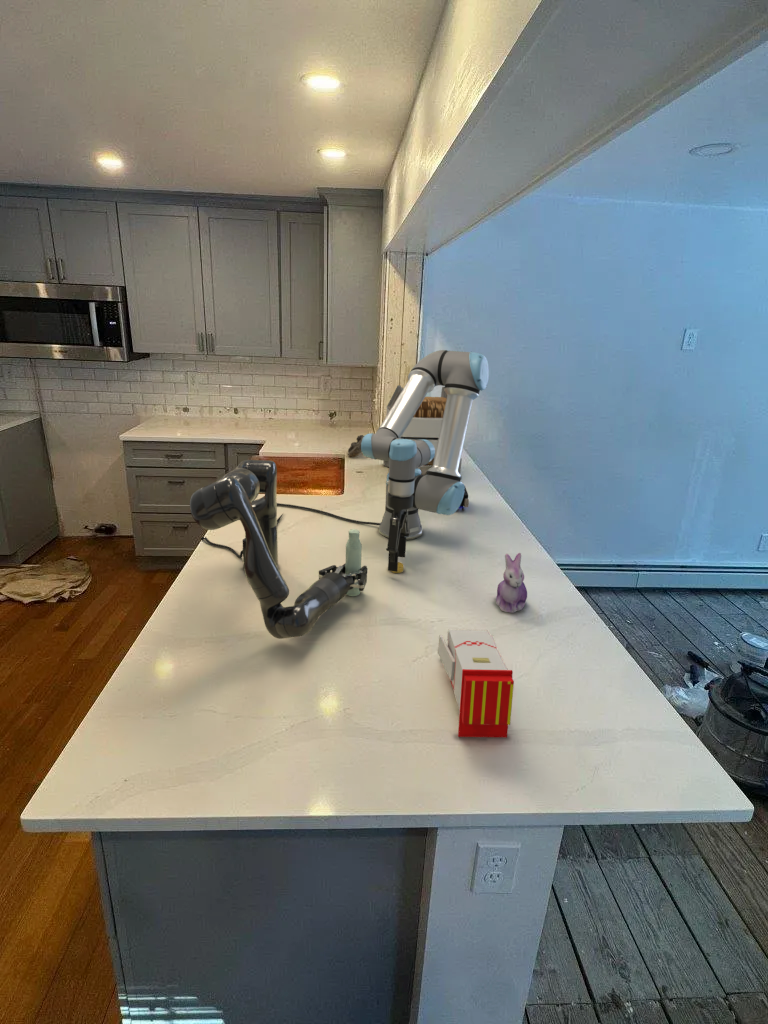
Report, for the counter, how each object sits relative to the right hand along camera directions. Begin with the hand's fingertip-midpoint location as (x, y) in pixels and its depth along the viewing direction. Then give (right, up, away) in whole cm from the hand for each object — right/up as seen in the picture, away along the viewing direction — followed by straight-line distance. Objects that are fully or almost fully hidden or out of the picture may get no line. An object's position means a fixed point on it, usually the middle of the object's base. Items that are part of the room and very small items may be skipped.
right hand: (396, 563), depth 171 cm
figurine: (+31, -10, -17) cm, 36 cm away
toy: (+14, -22, -53) cm, 59 cm away
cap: (0, -1, 0) cm, 1 cm away
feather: (-42, +13, +39) cm, 58 cm away
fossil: (-17, +47, +135) cm, 143 cm away
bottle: (-13, -7, -14) cm, 20 cm away
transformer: (+13, +34, +104) cm, 110 cm away
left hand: (-11, 0, -14) cm, 18 cm away
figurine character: (+26, +18, +59) cm, 67 cm away
